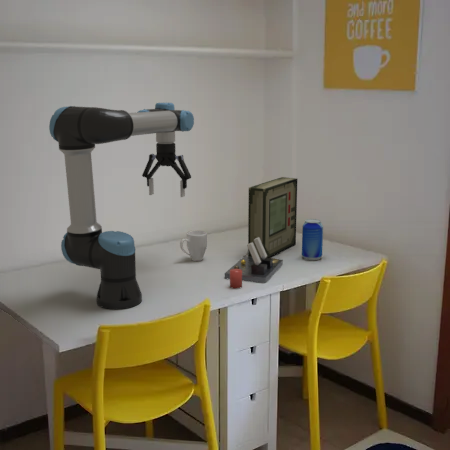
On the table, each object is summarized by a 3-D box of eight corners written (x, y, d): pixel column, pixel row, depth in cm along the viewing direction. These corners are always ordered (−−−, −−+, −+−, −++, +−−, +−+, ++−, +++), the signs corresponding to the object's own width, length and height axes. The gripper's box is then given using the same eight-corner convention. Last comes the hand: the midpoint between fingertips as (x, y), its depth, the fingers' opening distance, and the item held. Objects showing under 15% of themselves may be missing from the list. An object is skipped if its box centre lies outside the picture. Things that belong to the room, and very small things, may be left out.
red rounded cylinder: (239, 289, 225) (239, 273, 223) (228, 287, 226) (228, 271, 225) (243, 285, 229) (243, 269, 227) (232, 283, 230) (232, 268, 229)
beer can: (300, 260, 259) (301, 222, 255) (302, 254, 266) (304, 217, 263) (321, 261, 257) (322, 223, 253) (322, 255, 265) (324, 218, 261)
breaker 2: (265, 258, 241) (257, 238, 241) (262, 260, 242) (253, 240, 241) (267, 256, 244) (259, 236, 243) (264, 258, 244) (255, 238, 244)
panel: (265, 283, 231) (265, 270, 230) (224, 278, 236) (224, 265, 235) (282, 264, 253) (282, 252, 252) (244, 260, 258) (245, 248, 257)
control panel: (264, 261, 257) (265, 189, 250) (248, 258, 261) (248, 187, 254) (295, 244, 282) (297, 178, 275) (280, 242, 286) (282, 177, 278)
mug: (199, 255, 265) (199, 229, 262) (211, 260, 259) (210, 233, 256) (175, 260, 258) (175, 233, 256) (186, 265, 252) (186, 238, 249)
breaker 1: (259, 264, 234) (250, 243, 233) (255, 266, 235) (246, 245, 234) (261, 262, 237) (252, 242, 236) (258, 263, 237) (249, 243, 237)
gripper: (198, 142, 247) (199, 195, 252) (141, 140, 255) (142, 192, 260) (191, 144, 240) (192, 199, 245) (132, 142, 248) (134, 195, 253)
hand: (167, 195), depth 253 cm, fingers open, 13 cm apart
